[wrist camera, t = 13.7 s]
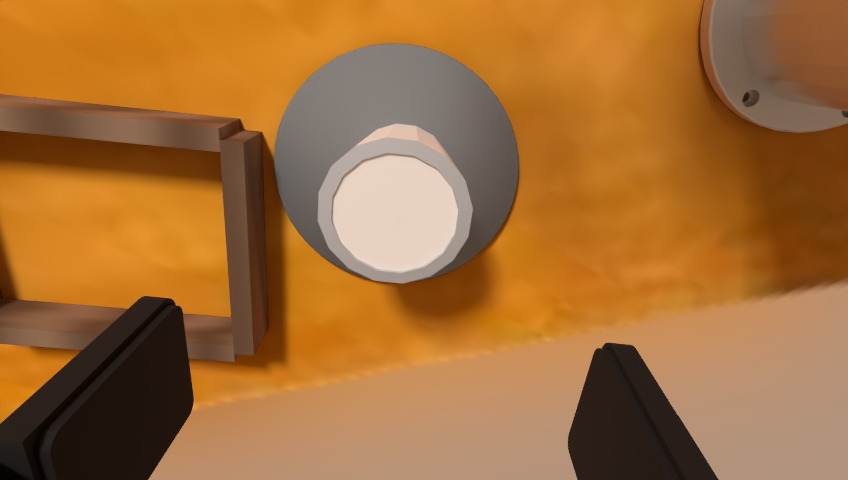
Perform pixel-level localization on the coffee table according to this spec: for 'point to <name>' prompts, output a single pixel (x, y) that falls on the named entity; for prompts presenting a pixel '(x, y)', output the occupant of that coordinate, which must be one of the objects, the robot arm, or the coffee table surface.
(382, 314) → the coffee table surface
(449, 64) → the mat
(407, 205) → the white cylinder
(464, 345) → the coffee table surface
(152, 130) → the brown rectangular frame
